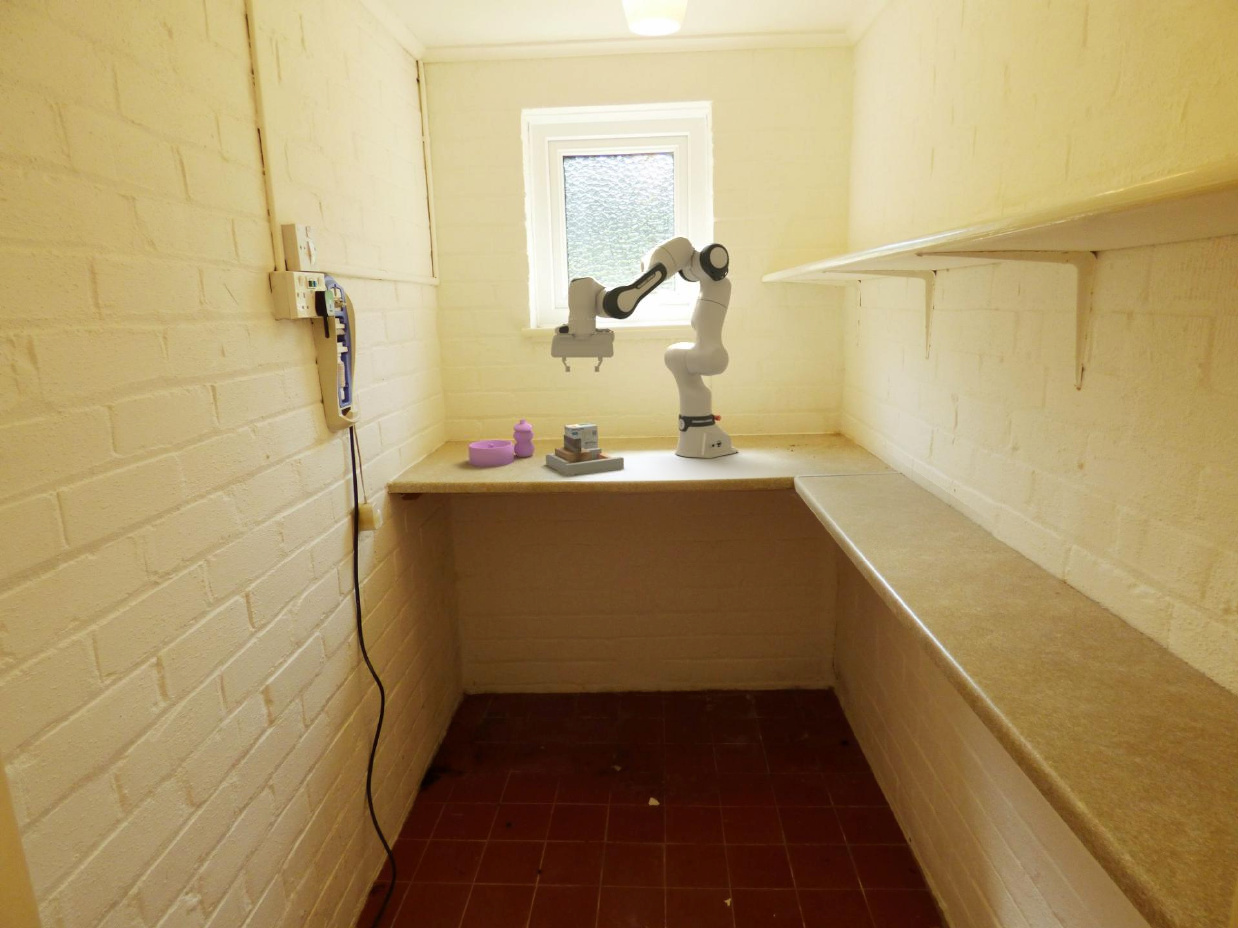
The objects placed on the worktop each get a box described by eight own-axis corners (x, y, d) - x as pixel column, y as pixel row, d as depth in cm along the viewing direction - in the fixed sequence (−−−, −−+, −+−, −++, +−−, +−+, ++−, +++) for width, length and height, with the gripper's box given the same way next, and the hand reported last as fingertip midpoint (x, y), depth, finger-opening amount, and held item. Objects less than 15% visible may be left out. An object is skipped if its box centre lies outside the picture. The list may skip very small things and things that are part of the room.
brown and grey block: (577, 462, 246) (576, 432, 243) (591, 469, 235) (590, 438, 233) (555, 465, 242) (554, 434, 240) (569, 472, 232) (568, 440, 230)
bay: (599, 457, 253) (599, 446, 252) (623, 468, 237) (623, 456, 236) (546, 464, 245) (545, 452, 244) (567, 475, 228) (567, 463, 227)
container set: (484, 469, 240) (481, 430, 237) (461, 462, 251) (458, 425, 248) (545, 457, 256) (543, 420, 253) (521, 451, 267) (519, 416, 264)
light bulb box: (591, 451, 265) (590, 422, 262) (599, 454, 259) (598, 424, 256) (564, 454, 260) (563, 424, 258) (571, 457, 254) (570, 427, 252)
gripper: (613, 328, 235) (613, 370, 237) (550, 328, 233) (551, 371, 235) (615, 328, 228) (615, 372, 231) (550, 328, 226) (551, 372, 229)
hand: (582, 371), depth 233 cm, fingers open, 8 cm apart
